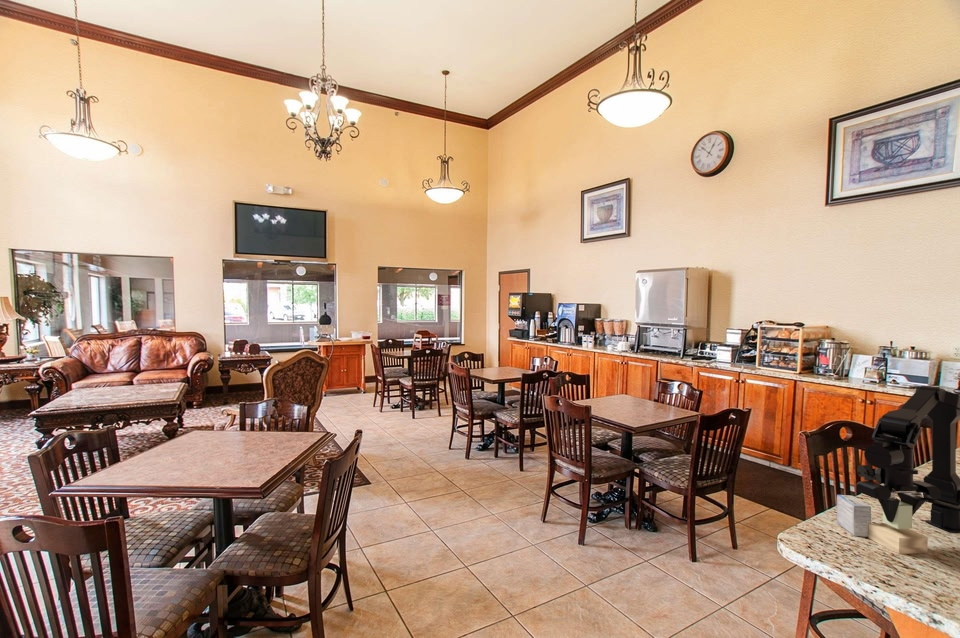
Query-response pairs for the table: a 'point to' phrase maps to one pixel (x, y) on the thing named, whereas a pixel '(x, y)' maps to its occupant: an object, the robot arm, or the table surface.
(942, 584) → the table surface
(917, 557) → the table surface
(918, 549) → the beech slab
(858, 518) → the medicine box
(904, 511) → the sage block
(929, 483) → the robot arm
